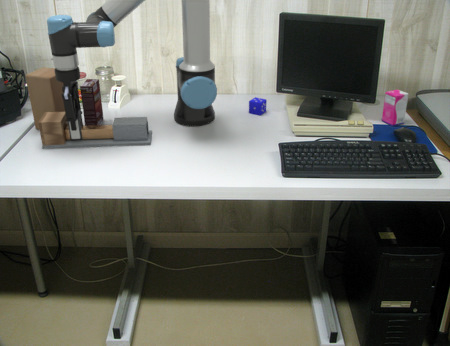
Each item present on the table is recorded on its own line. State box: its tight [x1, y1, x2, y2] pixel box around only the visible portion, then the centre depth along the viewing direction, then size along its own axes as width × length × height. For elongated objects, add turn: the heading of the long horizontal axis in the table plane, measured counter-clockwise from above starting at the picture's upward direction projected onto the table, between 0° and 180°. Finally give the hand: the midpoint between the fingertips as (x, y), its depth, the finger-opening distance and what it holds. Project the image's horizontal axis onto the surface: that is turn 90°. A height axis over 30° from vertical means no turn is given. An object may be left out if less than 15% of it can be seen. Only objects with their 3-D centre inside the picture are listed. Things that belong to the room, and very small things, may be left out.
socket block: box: [38, 112, 68, 146], centre depth 166 cm, size 7×9×8 cm
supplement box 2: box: [381, 89, 409, 127], centre depth 180 cm, size 6×6×12 cm
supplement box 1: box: [79, 78, 105, 126], centre depth 177 cm, size 9×5×16 cm, turn 178°
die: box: [248, 97, 267, 116], centre depth 190 cm, size 5×5×5 cm
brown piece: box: [64, 107, 114, 140], centre depth 166 cm, size 22×4×10 cm, turn 94°
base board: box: [41, 129, 153, 150], centre depth 169 cm, size 35×10×1 cm, turn 94°
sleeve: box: [111, 116, 150, 141], centre depth 168 cm, size 11×7×6 cm, turn 94°
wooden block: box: [25, 66, 65, 130], centre depth 175 cm, size 10×10×20 cm
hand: (77, 135), depth 167 cm, fingers open, 4 cm apart
